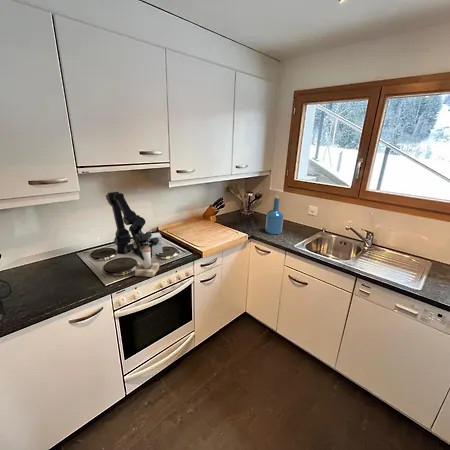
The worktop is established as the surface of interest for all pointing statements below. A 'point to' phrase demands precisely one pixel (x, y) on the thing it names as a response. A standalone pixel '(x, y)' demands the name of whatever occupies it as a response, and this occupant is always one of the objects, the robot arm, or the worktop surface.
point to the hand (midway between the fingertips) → (147, 258)
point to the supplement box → (158, 247)
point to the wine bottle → (274, 219)
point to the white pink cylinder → (146, 257)
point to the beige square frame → (147, 270)
